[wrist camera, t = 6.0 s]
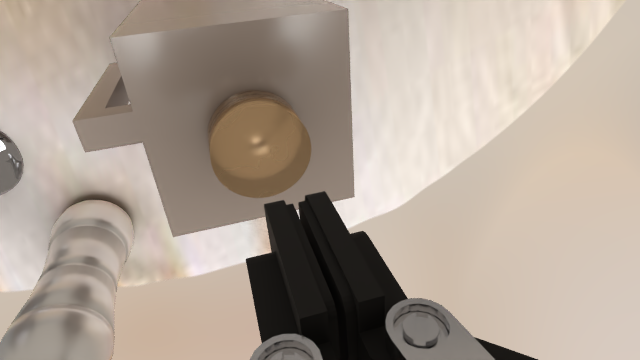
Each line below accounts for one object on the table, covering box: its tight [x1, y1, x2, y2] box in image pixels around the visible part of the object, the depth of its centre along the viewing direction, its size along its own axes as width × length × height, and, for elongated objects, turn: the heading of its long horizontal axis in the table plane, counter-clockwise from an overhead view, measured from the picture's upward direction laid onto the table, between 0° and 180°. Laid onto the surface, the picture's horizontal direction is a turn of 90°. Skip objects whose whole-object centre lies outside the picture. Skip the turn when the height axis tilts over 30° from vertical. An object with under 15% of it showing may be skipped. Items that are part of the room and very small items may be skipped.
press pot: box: [73, 0, 354, 237], centre depth 26 cm, size 12×9×19 cm
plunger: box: [208, 90, 311, 198], centre depth 24 cm, size 7×7×19 cm
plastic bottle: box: [0, 200, 134, 360], centre depth 30 cm, size 6×7×20 cm
